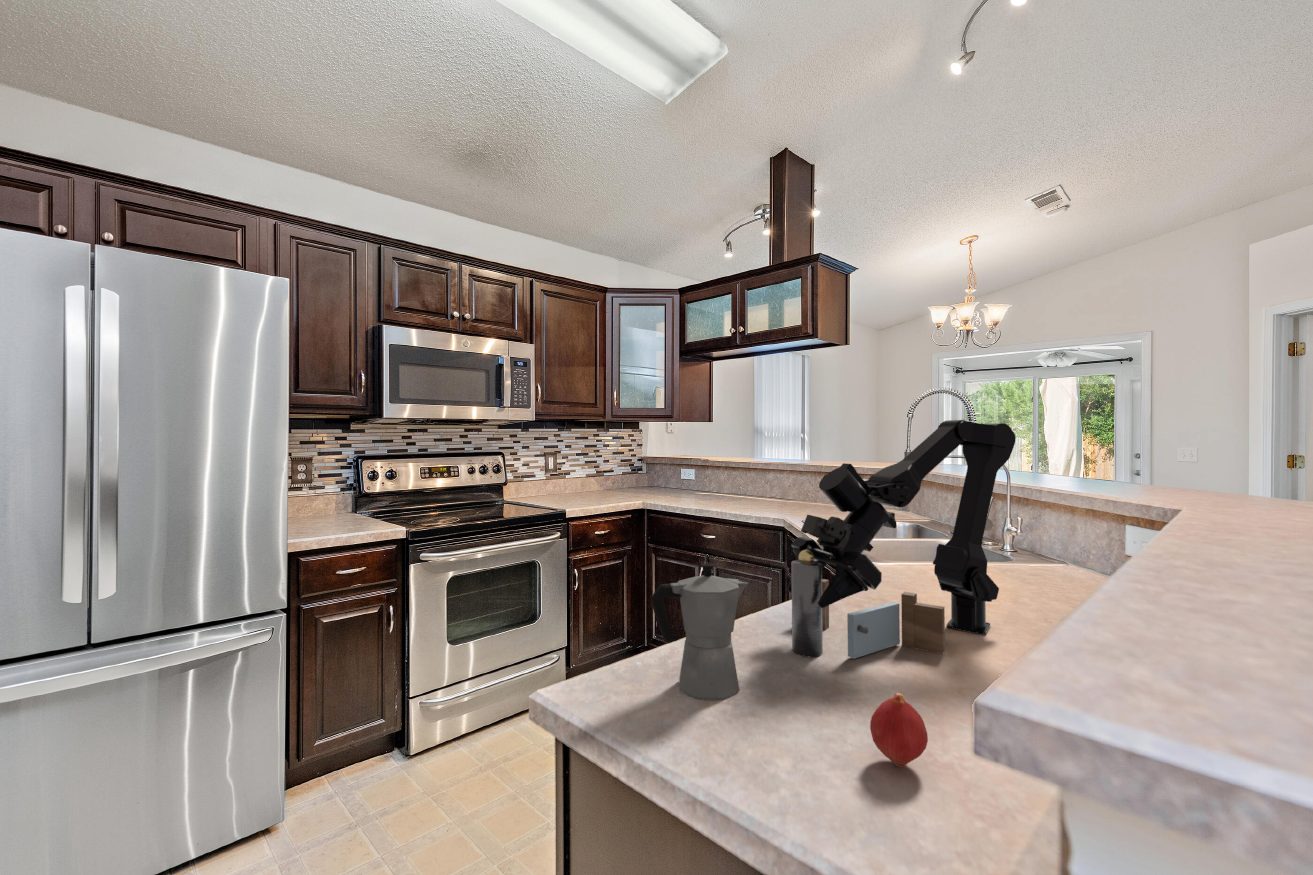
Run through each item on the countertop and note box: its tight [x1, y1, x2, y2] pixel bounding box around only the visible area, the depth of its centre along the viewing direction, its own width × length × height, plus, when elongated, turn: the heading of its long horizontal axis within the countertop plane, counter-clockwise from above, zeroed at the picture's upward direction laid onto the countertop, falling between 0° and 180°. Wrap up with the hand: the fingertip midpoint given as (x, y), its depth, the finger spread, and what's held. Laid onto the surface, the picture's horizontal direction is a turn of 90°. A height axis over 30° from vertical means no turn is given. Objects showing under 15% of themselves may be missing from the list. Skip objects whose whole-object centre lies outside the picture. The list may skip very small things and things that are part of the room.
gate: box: [847, 601, 901, 660], centre depth 94 cm, size 12×3×7 cm, turn 122°
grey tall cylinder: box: [790, 550, 824, 658], centre depth 96 cm, size 5×5×17 cm
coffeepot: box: [650, 562, 750, 701], centre depth 82 cm, size 15×9×18 cm, turn 110°
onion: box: [869, 692, 929, 768], centre depth 62 cm, size 6×6×8 cm
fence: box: [822, 578, 946, 655], centre depth 102 cm, size 2×25×9 cm, turn 52°
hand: (803, 598), depth 95 cm, fingers open, 9 cm apart
